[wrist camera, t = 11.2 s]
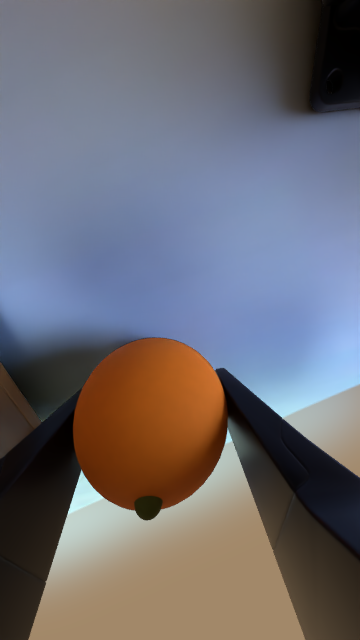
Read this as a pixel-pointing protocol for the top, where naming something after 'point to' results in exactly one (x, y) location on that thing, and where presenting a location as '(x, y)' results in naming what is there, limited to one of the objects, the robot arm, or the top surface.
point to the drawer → (14, 414)
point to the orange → (150, 425)
